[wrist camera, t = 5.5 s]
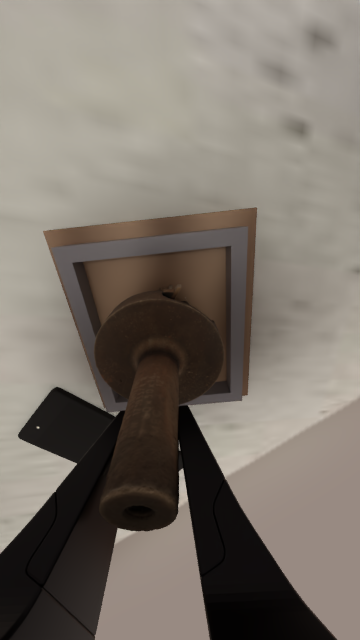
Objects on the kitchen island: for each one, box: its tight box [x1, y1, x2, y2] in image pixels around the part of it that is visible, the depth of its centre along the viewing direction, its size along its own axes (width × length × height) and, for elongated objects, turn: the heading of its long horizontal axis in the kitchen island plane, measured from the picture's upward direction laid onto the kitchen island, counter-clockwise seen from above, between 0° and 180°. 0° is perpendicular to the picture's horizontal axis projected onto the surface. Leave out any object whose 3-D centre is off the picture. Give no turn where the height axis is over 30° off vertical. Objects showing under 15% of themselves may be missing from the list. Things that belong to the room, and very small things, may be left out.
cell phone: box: [18, 387, 183, 471], centre depth 24 cm, size 9×18×1 cm, turn 50°
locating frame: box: [51, 226, 248, 412], centre depth 16 cm, size 12×14×2 cm
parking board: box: [43, 208, 257, 408], centre depth 17 cm, size 14×16×1 cm
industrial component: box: [94, 284, 224, 531], centre depth 11 cm, size 9×7×12 cm
